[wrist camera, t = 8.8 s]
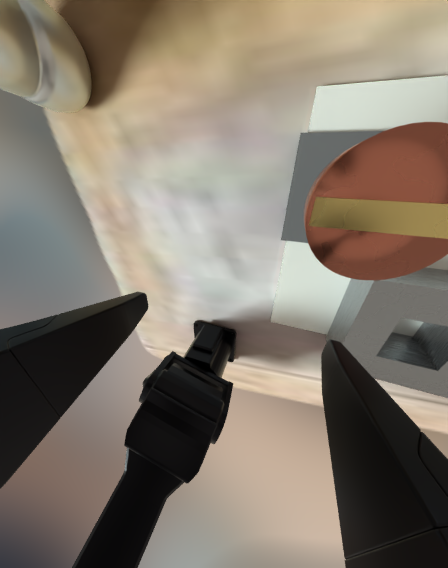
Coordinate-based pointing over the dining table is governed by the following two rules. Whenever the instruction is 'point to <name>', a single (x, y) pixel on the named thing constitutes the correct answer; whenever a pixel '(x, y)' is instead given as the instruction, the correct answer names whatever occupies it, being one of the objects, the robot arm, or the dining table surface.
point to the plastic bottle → (42, 57)
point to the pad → (313, 173)
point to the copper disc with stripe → (382, 204)
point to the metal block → (383, 319)
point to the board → (347, 118)
